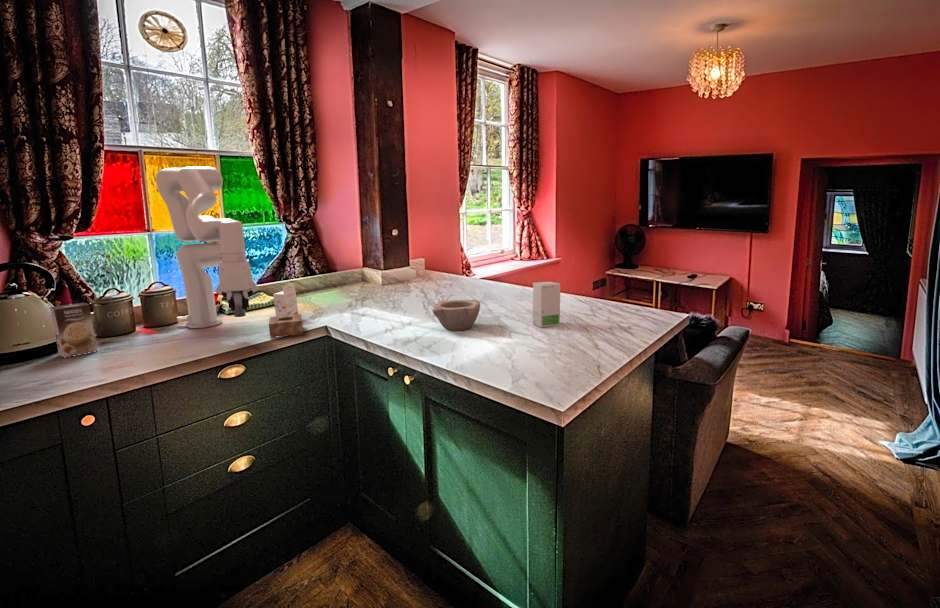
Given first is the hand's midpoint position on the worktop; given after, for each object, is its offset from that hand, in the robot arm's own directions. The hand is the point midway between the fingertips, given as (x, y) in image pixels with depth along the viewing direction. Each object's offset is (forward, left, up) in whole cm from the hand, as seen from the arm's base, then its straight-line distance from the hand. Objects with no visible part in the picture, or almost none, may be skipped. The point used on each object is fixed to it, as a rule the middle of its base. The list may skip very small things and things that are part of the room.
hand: (239, 309), depth 172 cm
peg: (0, 0, -2) cm, 2 cm away
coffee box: (-49, +3, -11) cm, 51 cm away
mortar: (+74, -18, -11) cm, 77 cm away
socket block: (+15, +2, -10) cm, 18 cm away
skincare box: (+105, -28, -11) cm, 109 cm away
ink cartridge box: (+15, +21, -11) cm, 28 cm away
